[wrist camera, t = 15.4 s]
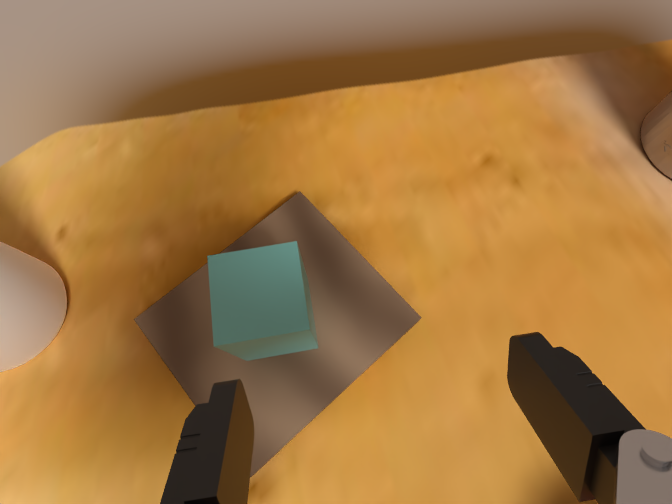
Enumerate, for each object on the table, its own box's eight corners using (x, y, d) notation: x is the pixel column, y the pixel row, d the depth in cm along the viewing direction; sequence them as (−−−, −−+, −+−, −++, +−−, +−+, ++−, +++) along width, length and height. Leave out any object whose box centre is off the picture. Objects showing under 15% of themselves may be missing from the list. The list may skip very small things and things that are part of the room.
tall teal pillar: (308, 279, 32) (296, 240, 24) (318, 348, 30) (309, 329, 22) (239, 291, 32) (207, 255, 24) (246, 360, 30) (213, 346, 22)
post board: (301, 198, 35) (291, 149, 29) (418, 320, 32) (439, 298, 25) (141, 322, 32) (87, 300, 25) (251, 476, 28) (222, 499, 22)
